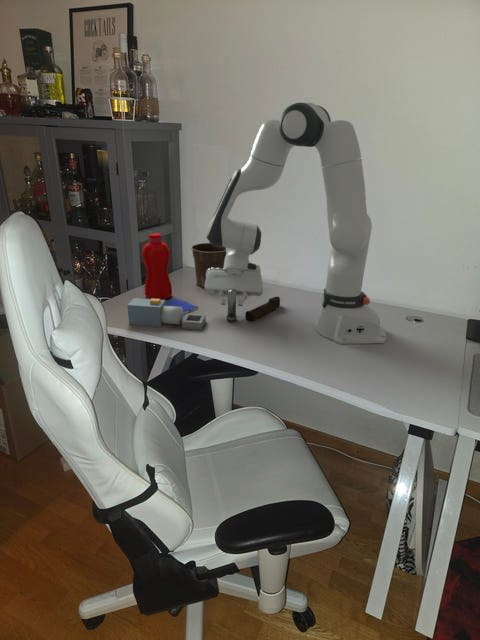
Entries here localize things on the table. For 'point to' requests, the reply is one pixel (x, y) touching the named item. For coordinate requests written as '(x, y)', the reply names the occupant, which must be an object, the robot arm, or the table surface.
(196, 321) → the handheld vacuum
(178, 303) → the hard drive
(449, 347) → the table surface
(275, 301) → the hand tool
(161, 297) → the water bottle
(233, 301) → the grey peg
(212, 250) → the plant pot
